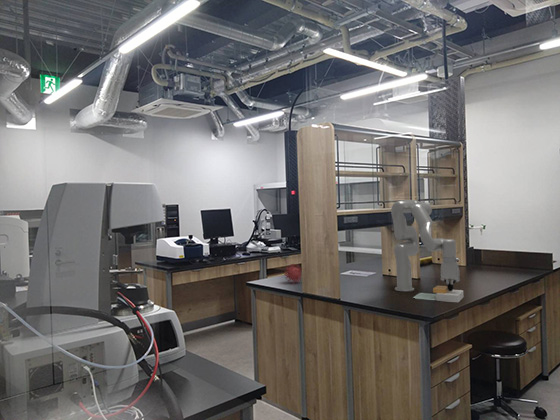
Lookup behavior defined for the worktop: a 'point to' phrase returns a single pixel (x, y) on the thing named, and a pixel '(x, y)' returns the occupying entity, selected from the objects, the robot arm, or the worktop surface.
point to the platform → (450, 296)
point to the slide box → (440, 289)
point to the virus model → (293, 273)
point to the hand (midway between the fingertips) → (450, 290)
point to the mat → (425, 296)
